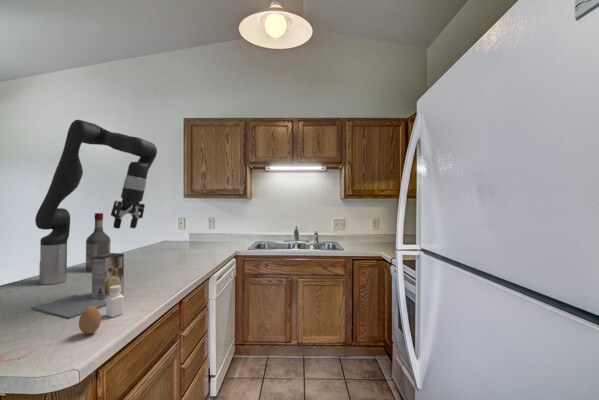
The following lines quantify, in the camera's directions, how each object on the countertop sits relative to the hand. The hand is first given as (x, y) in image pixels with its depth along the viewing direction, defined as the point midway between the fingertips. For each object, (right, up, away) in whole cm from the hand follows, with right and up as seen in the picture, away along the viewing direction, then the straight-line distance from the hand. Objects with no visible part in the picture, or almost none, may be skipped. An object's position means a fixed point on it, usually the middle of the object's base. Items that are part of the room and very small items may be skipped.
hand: (124, 228), depth 114 cm
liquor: (-37, -26, +37) cm, 58 cm away
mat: (-12, -27, -12) cm, 31 cm away
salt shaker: (+8, -28, -18) cm, 34 cm away
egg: (+9, -28, -31) cm, 43 cm away
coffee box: (-7, -27, 0) cm, 28 cm away
